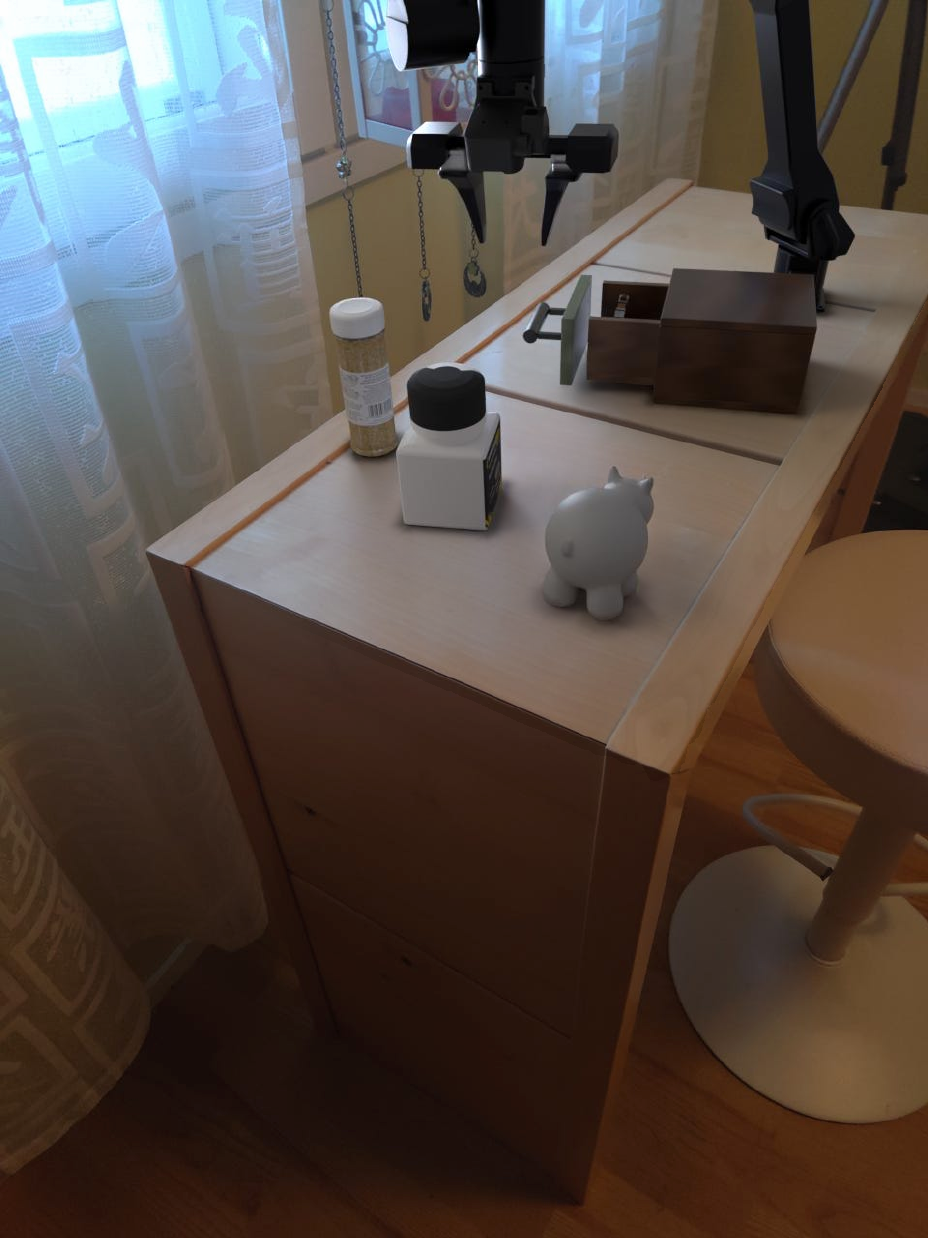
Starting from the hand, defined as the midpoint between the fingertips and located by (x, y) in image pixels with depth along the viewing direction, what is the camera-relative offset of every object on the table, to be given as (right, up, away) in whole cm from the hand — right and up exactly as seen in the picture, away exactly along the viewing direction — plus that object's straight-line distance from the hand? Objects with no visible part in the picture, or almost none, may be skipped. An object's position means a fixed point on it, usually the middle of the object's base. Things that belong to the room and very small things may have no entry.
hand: (513, 243), depth 87 cm
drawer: (+10, -10, +5) cm, 15 cm away
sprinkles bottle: (-13, -21, -3) cm, 25 cm away
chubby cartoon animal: (+6, -34, -19) cm, 39 cm away
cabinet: (+22, -12, +3) cm, 25 cm away
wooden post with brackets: (+10, -9, +3) cm, 14 cm away
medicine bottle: (-6, -27, -11) cm, 30 cm away
